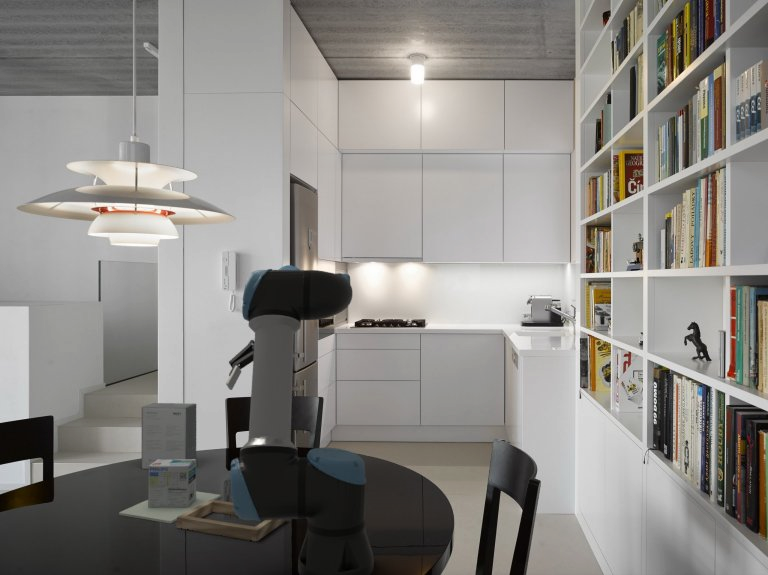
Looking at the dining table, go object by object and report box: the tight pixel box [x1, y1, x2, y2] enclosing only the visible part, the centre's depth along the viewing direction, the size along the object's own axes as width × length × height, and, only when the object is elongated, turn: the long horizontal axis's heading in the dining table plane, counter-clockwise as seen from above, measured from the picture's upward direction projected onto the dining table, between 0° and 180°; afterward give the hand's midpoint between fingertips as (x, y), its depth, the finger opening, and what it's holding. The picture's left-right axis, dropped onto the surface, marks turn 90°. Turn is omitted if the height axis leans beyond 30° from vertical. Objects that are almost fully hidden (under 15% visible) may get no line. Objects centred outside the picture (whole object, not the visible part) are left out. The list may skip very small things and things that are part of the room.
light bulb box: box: [147, 458, 197, 507], centre depth 152 cm, size 11×7×11 cm, turn 92°
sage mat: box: [118, 490, 222, 524], centre depth 151 cm, size 20×16×1 cm
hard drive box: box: [141, 402, 197, 470], centre depth 187 cm, size 16×8×20 cm, turn 82°
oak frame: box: [176, 499, 287, 542], centre depth 139 cm, size 13×22×2 cm, turn 70°
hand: (249, 388), depth 159 cm, fingers open, 13 cm apart
